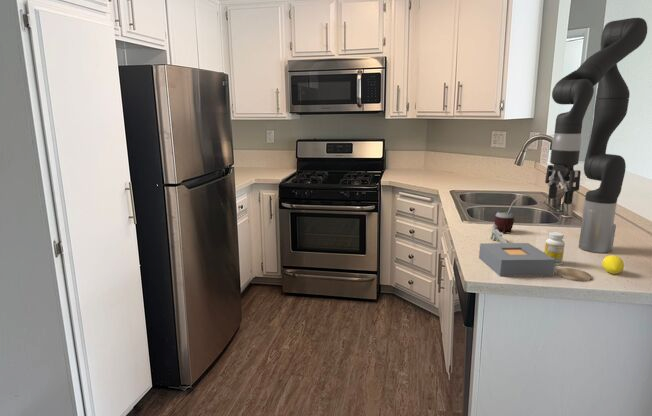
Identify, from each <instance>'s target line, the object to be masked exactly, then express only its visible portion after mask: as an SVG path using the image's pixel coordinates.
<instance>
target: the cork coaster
mask: <svg viewBox="0 0 652 416" xmlns="http://www.w3.org/2000/svg"><path fill="white" fill-rule="evenodd" d="M555 274H556V275H557V276H559V277H560V278H562V279H565V280H568V281H573V282H574V281H575V282H588V281H590V279H591V280H592V274H590V273H588V272H586V271H584V270H582V269H576V268H572V267H569V268H568V267H561V268H558V269H556V270H555Z"/></svg>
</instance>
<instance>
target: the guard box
mask: <svg viewBox="0 0 652 416" xmlns="http://www.w3.org/2000/svg"><path fill="white" fill-rule="evenodd" d="M504 250H521V251H523V252H524V253H526V254H524V255H510V254H509V253H507V252H506V251H504ZM478 252H479V253H478V259H479V260H480V261H482V262H483V264H485V265H486V266H487V267H488V268H490V269H491V270H492V271H493V272H494V273H496V274H497V275H498V276H499V277H538V276H539V277H545V276H546V277H547V276H549V277H553V276H554V275H555V274H554V273H555V266H556V265H555V259H554V258H552V257H550V256H549V255H547V254H546V253H545V251H542V250H541V249H538V248H537V247H536V246H534V245H532V244H530V243H529V242H519V243H518V242H508V243H501V242H497V243H496V242H495V243H494V242H493V243H488V242H487V243H486V242H485V243H483V242H482V243H481V242H480V243H479V251H478Z"/></svg>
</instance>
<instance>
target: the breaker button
mask: <svg viewBox="0 0 652 416" xmlns="http://www.w3.org/2000/svg"><path fill="white" fill-rule="evenodd" d="M504 251H506V252H507V253H509V254H510V255H524V254H526V253H524V252H523V251H521V250H504Z"/></svg>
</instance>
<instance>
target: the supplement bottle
mask: <svg viewBox="0 0 652 416" xmlns="http://www.w3.org/2000/svg"><path fill="white" fill-rule="evenodd" d="M565 246H566V244H565V241H564V233H562V232H556V231H550V232H549V234H548V238H547V239H546V240H545V246H544V253H546V254H547V255H549V256H550V257H552V258H554V259H555V266H560V265H562V264H563V261H564V260H563V259H564V252H565Z"/></svg>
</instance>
